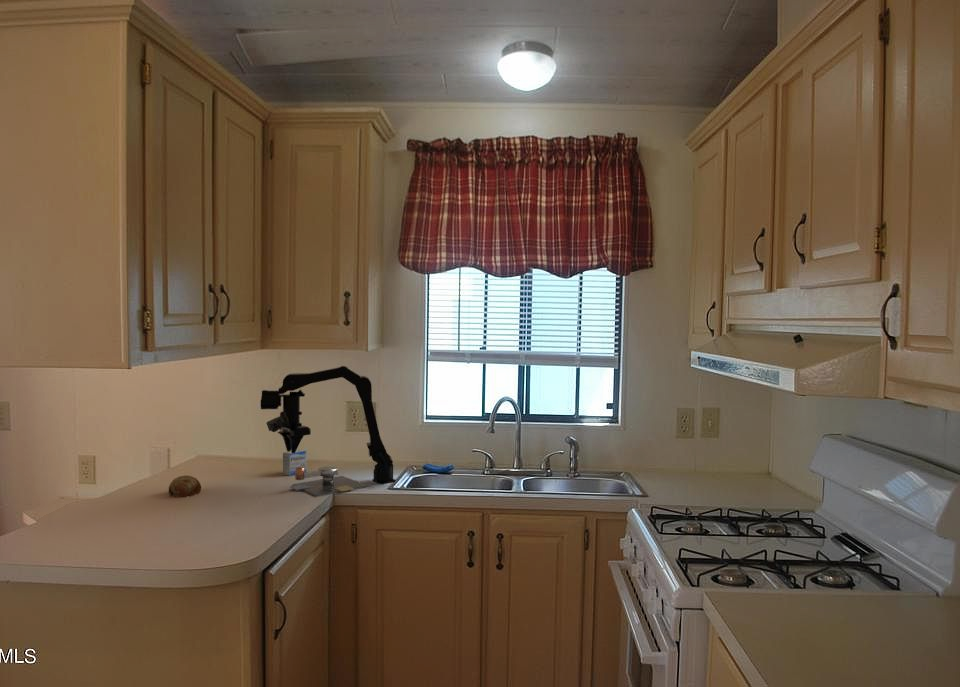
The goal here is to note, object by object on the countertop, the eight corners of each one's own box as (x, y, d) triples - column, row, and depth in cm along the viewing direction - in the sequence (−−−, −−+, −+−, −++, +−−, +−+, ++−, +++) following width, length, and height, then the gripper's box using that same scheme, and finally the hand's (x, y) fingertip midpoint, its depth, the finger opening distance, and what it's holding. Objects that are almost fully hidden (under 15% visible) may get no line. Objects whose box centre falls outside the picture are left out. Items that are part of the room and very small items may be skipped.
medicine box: (289, 476, 234) (289, 453, 234) (282, 474, 237) (282, 452, 237) (306, 472, 241) (306, 450, 240) (299, 470, 243) (299, 449, 243)
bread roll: (166, 504, 209) (157, 485, 205) (191, 485, 217) (182, 466, 213) (186, 508, 204) (176, 489, 201) (210, 489, 212) (201, 470, 209)
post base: (341, 477, 234) (341, 468, 234) (369, 487, 219) (369, 478, 219) (285, 487, 219) (285, 477, 218) (311, 499, 204) (311, 488, 204)
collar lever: (332, 470, 228) (332, 460, 228) (341, 474, 223) (341, 463, 223) (291, 477, 217) (291, 466, 217) (300, 481, 212) (300, 470, 212)
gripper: (258, 407, 222) (258, 450, 222) (281, 413, 208) (280, 459, 208) (288, 405, 229) (287, 447, 230) (311, 411, 215) (311, 455, 216)
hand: (291, 452), depth 221 cm, fingers open, 3 cm apart
